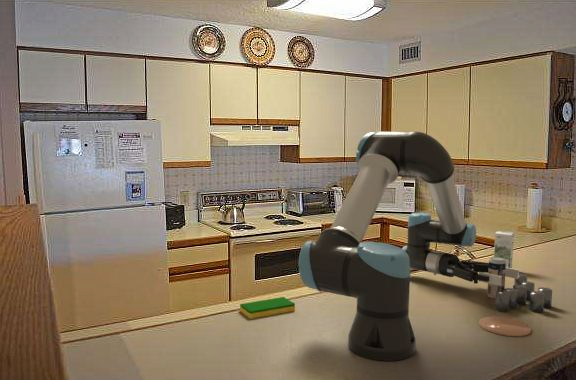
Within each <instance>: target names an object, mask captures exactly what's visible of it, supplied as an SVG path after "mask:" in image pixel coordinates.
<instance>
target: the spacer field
mask: <svg viewBox="0 0 576 380" xmlns="http://www.w3.org/2000/svg"><path fill="white" fill-rule="evenodd" d="M513 282H514V283H513V285H512V287H511V288H510V287H507V288H506V287H505V290H504V291H496V299H495V311H498V312H501V313H508V312H510V310H517V309H518V306H525V305H527V304H526V303H527V302H529V309H528V310H529V311H530V312H533V313H541V314H543V313H544V311H545V310H544V309H551V308H552V302H553V288H552V289H551V288H549V287H538V288H537V289H538V290H535V285H536V284H535V282H533V281H528V275H527V274H524V273H523V274H522V273H519V279H516V278H514V281H513Z"/></svg>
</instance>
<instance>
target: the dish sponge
mask: <svg viewBox="0 0 576 380" xmlns="http://www.w3.org/2000/svg"><path fill="white" fill-rule="evenodd" d="M295 311H296V303H294V302H293V301H292V300H289V299H288V298H286V297H284V296H281V297H275V298H270V299H263V300H257V301H252V302H244V303H240V304H239V312H240V313H242V314H243V315H245V316H246V318H248V319H258V318H262V317H268V316H273V315H279V314H284V313H289V312H295Z"/></svg>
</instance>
